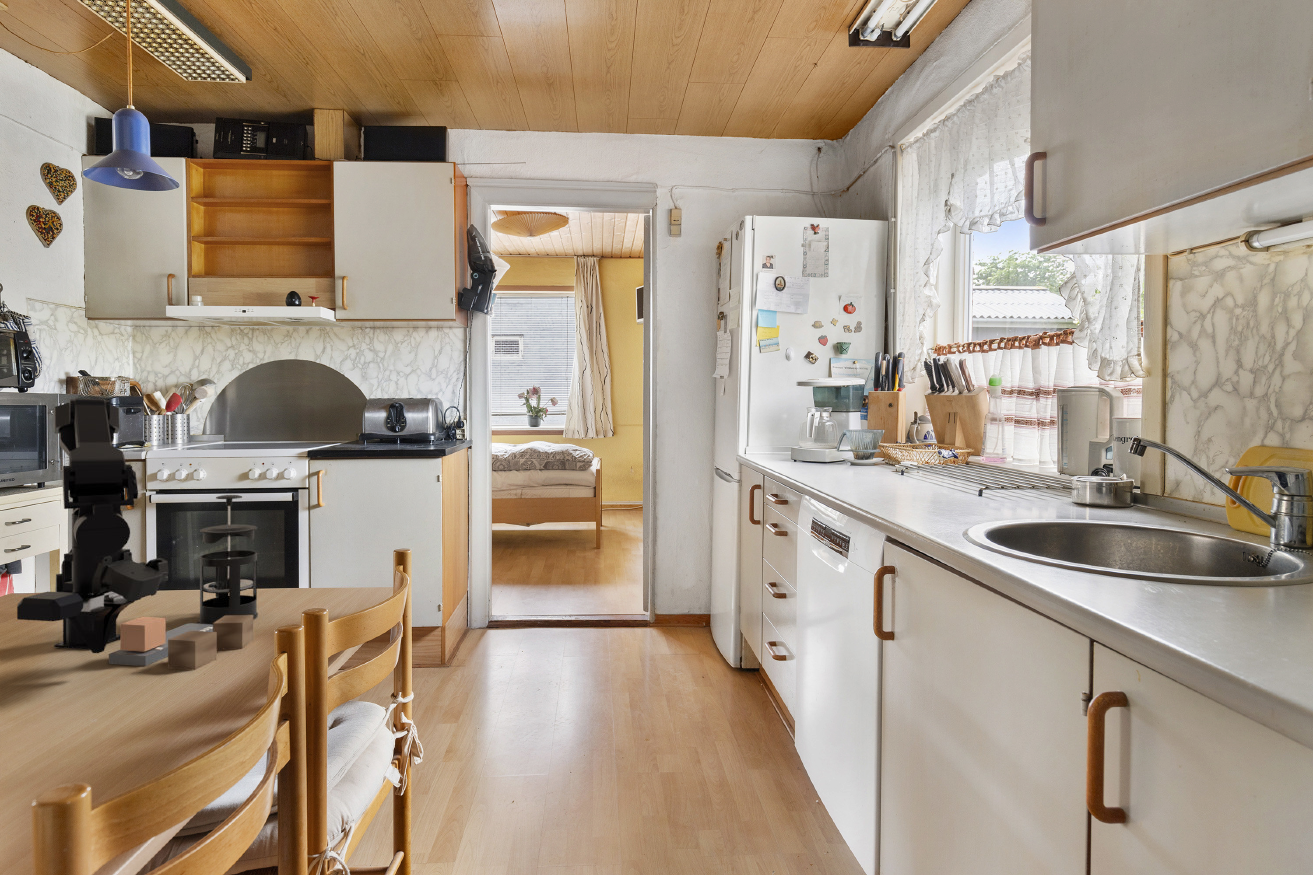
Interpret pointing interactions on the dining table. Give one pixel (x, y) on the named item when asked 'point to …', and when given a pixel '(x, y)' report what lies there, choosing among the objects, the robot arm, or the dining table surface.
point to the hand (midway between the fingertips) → (97, 652)
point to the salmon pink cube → (143, 633)
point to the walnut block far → (234, 631)
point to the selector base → (157, 652)
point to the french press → (228, 573)
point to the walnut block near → (192, 650)
